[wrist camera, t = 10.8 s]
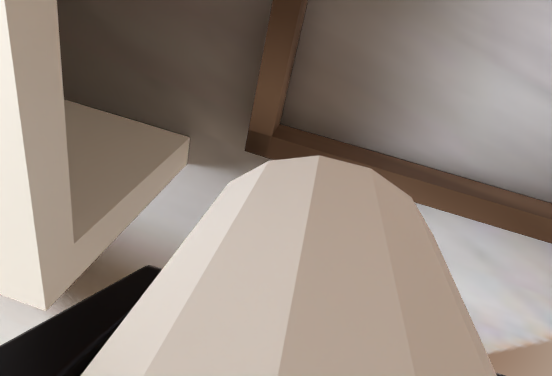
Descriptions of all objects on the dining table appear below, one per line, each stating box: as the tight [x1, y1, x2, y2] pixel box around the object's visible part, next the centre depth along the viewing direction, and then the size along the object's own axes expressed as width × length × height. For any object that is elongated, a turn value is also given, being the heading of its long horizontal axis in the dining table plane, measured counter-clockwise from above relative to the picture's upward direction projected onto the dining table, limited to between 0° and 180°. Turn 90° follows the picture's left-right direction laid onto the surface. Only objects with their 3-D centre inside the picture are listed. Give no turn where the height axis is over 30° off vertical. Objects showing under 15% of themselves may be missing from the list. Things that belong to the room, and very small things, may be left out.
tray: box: [245, 0, 552, 243], centre depth 14 cm, size 11×16×3 cm
